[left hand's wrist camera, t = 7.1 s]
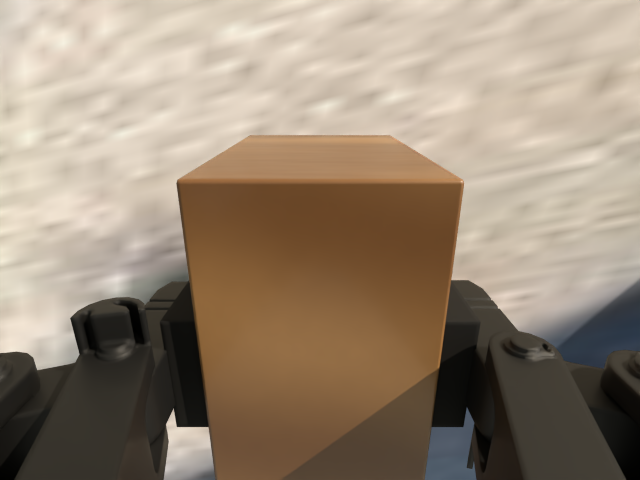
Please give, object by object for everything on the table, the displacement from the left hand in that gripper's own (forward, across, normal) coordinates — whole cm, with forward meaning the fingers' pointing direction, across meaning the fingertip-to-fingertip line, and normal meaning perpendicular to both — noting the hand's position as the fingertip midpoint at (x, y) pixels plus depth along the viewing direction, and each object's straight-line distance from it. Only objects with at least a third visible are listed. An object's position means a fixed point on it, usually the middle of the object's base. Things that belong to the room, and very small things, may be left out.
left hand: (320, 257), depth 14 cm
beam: (+1, 0, -33) cm, 33 cm away
